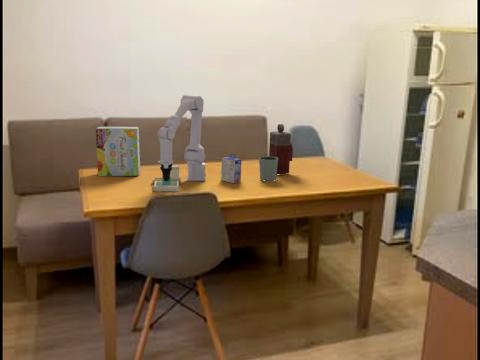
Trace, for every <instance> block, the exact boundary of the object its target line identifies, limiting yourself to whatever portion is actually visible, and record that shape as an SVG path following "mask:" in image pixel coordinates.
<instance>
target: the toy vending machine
mask: <svg viewBox="0 0 480 360" xmlns="http://www.w3.org/2000/svg"><path fill="white" fill-rule="evenodd" d="M276 129H277V130H276V131H270V132H269V146H268V147H269V149H268V150H269V152H268V153H269V154H268V156H271V157H277V158H278V164H277V174H286V173H289V174H290V163H291V162H293V153H294V152H293V151H294V148H293V144H292V143H291V142H292V134H291V133H290V132H288V131H285V125H284V124H283V123H278V125H277V127H276Z"/></svg>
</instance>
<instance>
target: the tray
mask: <svg viewBox="0 0 480 360" xmlns="http://www.w3.org/2000/svg"><path fill="white" fill-rule="evenodd" d="M179 187H180V185H179V181H171V186H162V181H155V184H154V185H153V192H179Z"/></svg>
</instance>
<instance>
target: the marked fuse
mask: <svg viewBox="0 0 480 360" xmlns="http://www.w3.org/2000/svg"><path fill="white" fill-rule="evenodd" d="M161 173H162V172H161ZM161 177H162V186H171V172H170V176H169V181H164V178H163V173H162V174H161Z"/></svg>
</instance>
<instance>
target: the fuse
mask: <svg viewBox="0 0 480 360" xmlns="http://www.w3.org/2000/svg"><path fill="white" fill-rule="evenodd" d="M179 177H180V165H172V170H171V179H179Z"/></svg>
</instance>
